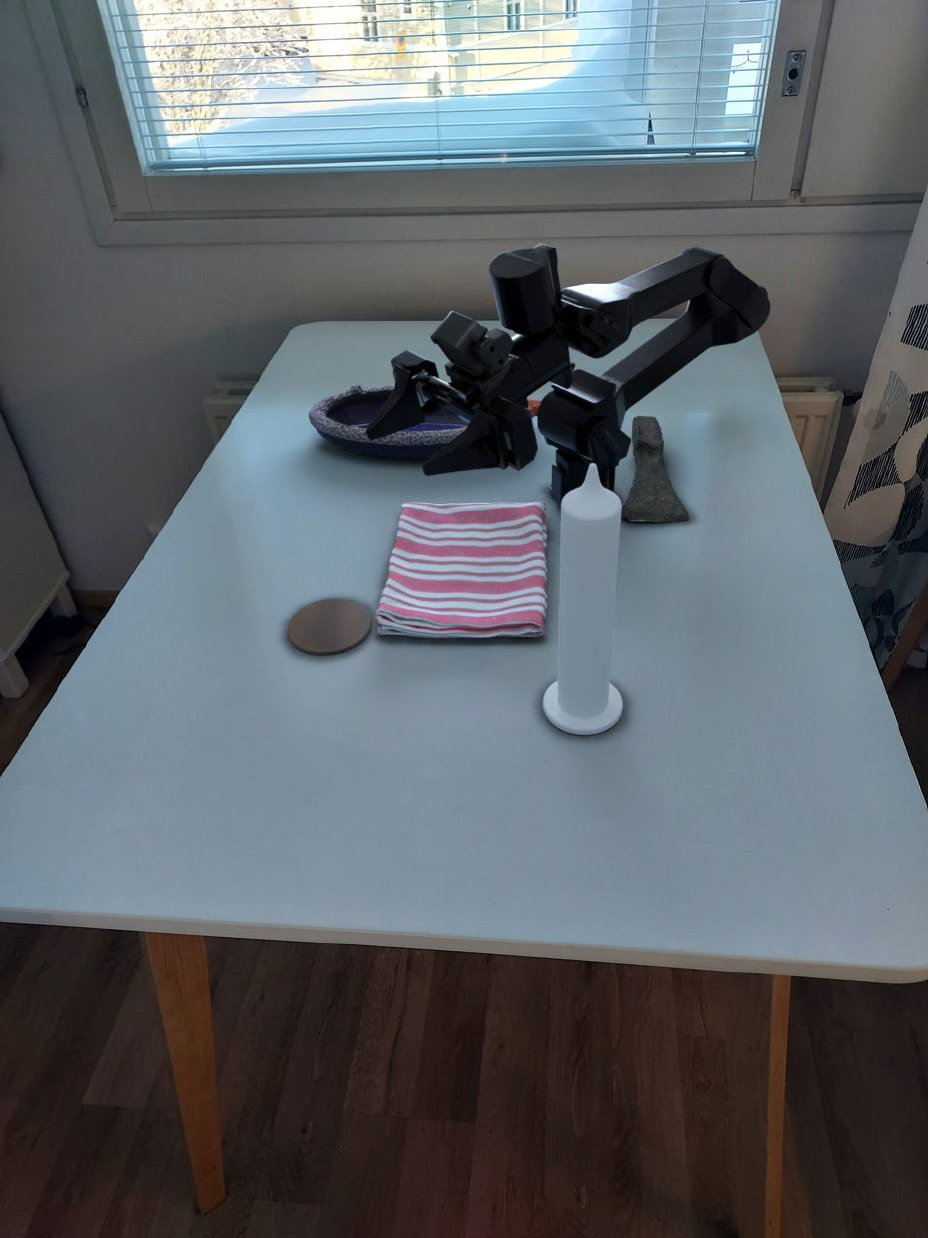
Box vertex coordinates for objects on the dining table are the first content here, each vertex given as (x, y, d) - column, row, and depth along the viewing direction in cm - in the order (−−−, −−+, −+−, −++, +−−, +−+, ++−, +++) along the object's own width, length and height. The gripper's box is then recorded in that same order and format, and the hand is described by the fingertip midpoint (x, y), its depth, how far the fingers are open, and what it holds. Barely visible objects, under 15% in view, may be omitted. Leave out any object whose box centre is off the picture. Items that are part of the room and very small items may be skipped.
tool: (687, 532, 106) (693, 511, 103) (620, 529, 106) (624, 508, 103) (667, 427, 120) (672, 406, 118) (608, 424, 120) (611, 404, 118)
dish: (326, 409, 131) (321, 376, 127) (545, 410, 127) (545, 376, 124) (300, 466, 119) (293, 431, 116) (540, 469, 115) (540, 433, 112)
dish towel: (373, 643, 91) (369, 616, 89) (403, 512, 109) (400, 487, 107) (546, 646, 90) (547, 618, 88) (548, 512, 108) (548, 486, 105)
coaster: (358, 593, 98) (357, 590, 98) (382, 640, 92) (381, 637, 92) (280, 614, 96) (279, 611, 96) (299, 664, 90) (298, 661, 89)
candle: (529, 694, 85) (527, 453, 69) (597, 670, 87) (610, 431, 71) (566, 746, 80) (573, 499, 64) (637, 720, 82) (661, 474, 66)
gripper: (439, 272, 93) (314, 350, 88) (569, 324, 81) (433, 417, 76) (463, 367, 101) (350, 443, 96) (585, 427, 89) (463, 517, 84)
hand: (394, 453), depth 88 cm, fingers open, 9 cm apart
